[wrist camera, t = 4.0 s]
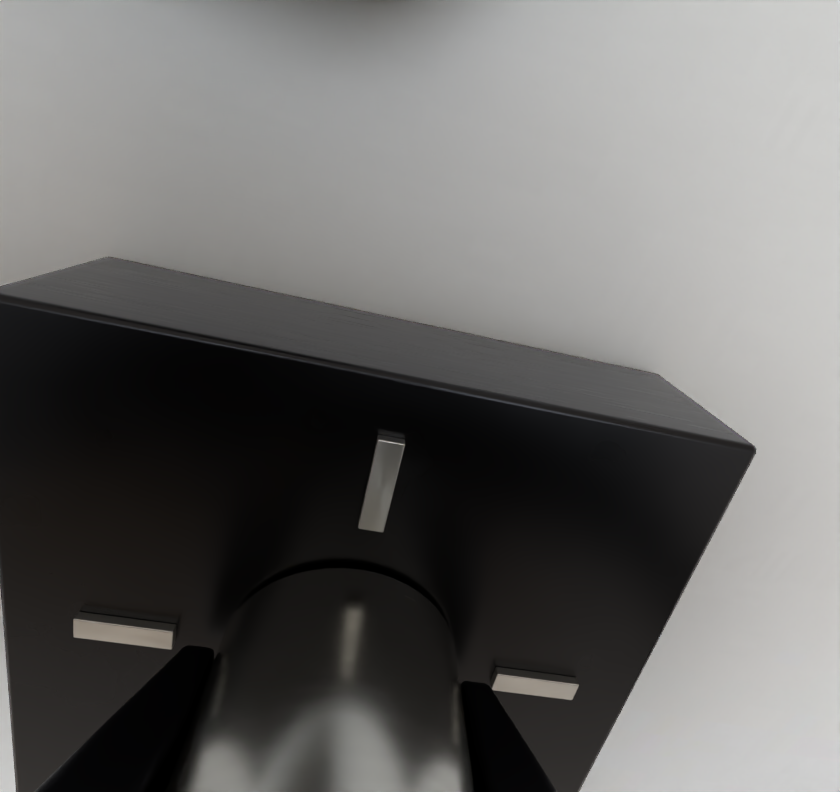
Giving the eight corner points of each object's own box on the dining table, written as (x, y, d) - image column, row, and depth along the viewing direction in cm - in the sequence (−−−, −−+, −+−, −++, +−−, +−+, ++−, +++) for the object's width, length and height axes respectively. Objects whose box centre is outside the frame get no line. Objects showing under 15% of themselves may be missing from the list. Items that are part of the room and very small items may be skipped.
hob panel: (660, 373, 10) (770, 454, 7) (515, 718, 13) (548, 867, 11) (105, 254, 9) (-38, 292, 6) (101, 669, 12) (8, 824, 9)
